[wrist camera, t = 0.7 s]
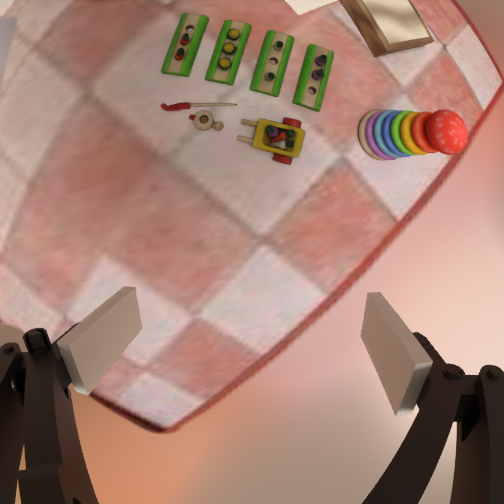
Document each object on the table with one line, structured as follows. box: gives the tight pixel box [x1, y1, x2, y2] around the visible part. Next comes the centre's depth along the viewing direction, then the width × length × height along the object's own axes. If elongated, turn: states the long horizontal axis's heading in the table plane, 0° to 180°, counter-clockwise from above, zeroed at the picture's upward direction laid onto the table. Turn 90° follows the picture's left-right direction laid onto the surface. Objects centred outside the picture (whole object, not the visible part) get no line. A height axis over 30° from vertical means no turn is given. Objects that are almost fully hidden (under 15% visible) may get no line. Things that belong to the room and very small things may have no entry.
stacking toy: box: [359, 110, 468, 160], centre depth 30 cm, size 8×8×19 cm
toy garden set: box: [161, 13, 334, 165], centre depth 33 cm, size 23×19×5 cm
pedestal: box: [339, 0, 434, 57], centre depth 29 cm, size 12×12×4 cm
